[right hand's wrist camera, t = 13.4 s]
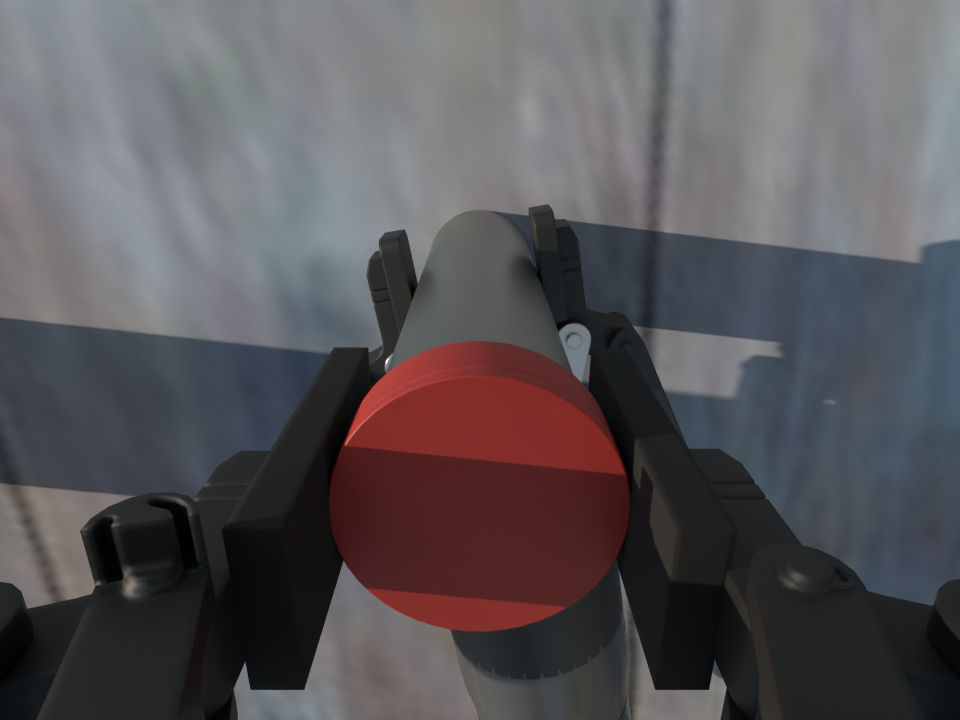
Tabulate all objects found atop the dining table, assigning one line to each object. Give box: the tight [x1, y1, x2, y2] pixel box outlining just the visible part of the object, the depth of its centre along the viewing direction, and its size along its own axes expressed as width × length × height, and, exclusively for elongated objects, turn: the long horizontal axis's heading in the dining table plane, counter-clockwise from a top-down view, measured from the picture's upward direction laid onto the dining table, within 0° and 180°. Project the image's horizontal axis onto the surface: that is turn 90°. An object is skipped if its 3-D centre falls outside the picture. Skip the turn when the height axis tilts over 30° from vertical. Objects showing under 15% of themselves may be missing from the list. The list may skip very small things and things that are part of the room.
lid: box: [328, 341, 631, 631], centre depth 11 cm, size 5×5×2 cm
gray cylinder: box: [386, 211, 573, 374], centre depth 19 cm, size 4×4×19 cm
